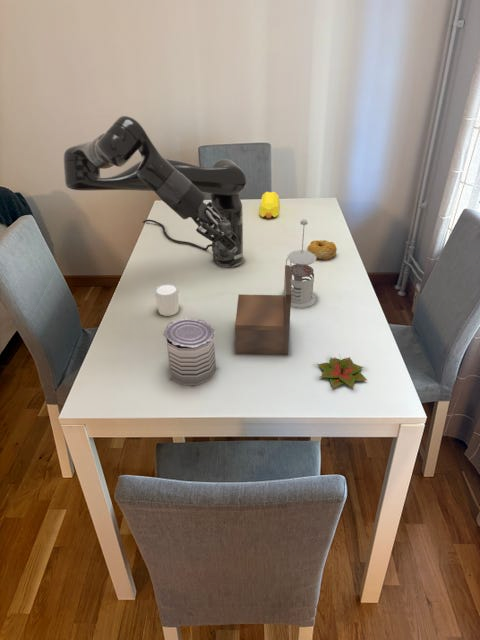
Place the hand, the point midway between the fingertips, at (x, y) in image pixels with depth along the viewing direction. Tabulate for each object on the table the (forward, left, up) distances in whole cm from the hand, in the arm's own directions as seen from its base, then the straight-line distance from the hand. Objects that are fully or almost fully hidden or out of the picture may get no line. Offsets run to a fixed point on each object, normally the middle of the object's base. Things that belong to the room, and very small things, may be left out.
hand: (233, 243), depth 117 cm
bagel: (+1, +52, -26) cm, 58 cm away
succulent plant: (+32, -2, -26) cm, 41 cm away
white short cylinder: (-22, -3, -26) cm, 34 cm away
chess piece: (-2, -1, -5) cm, 6 cm away
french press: (+7, +23, -26) cm, 36 cm away
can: (0, -20, -26) cm, 32 cm away
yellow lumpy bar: (-34, +75, -26) cm, 87 cm away
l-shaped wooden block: (+7, 0, -26) cm, 27 cm away
